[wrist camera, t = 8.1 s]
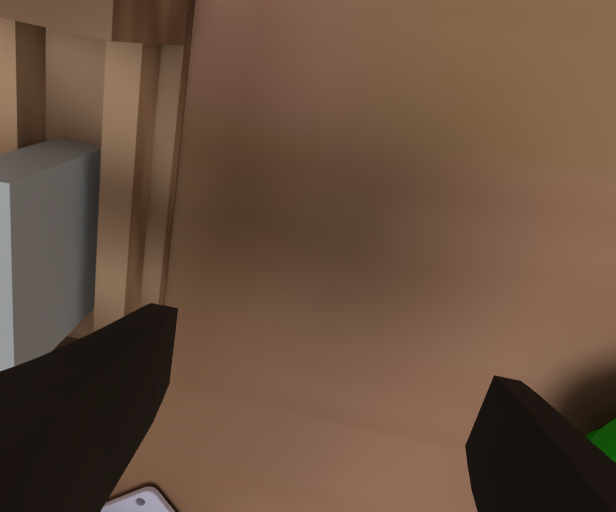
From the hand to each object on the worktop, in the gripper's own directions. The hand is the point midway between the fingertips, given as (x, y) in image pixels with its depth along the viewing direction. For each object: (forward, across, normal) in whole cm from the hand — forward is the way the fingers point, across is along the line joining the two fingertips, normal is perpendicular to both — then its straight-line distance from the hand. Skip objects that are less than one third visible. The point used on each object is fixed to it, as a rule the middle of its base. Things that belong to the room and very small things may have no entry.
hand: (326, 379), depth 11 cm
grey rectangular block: (+10, +10, +2) cm, 14 cm away
